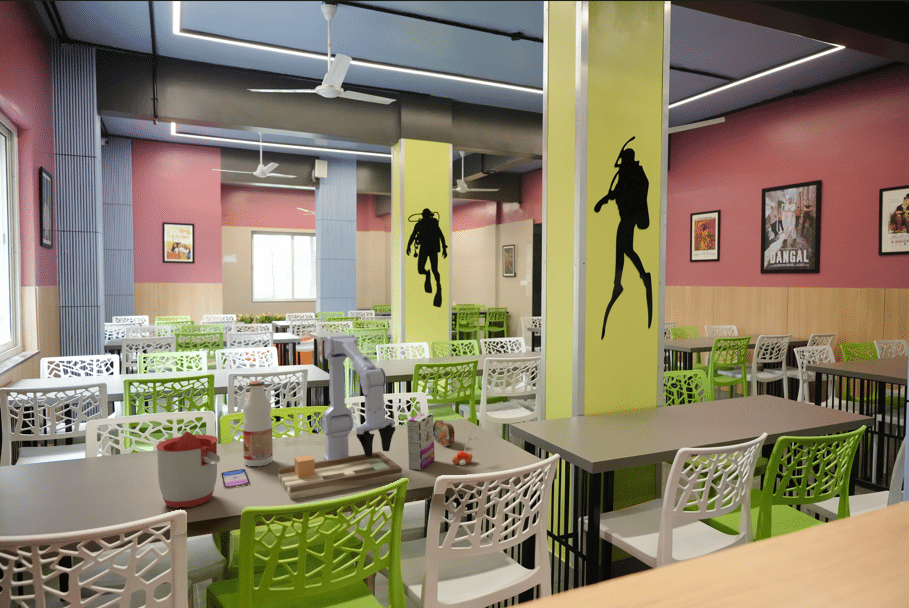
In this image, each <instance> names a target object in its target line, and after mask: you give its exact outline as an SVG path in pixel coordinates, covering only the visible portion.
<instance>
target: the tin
mask: <svg viewBox="0 0 909 608" xmlns="http://www.w3.org/2000/svg"><path fill="white" fill-rule="evenodd" d="M433 428H434V441H435V442H436V443H438V444H440V445H442V446H443V447H444V448H445V447H451V446H453V445H454V443H455V433H456V432H455V428H454V426H453V425H452V424H451V423H449V422H447V421H446V420H443V419H435V421H434V422H433Z"/></svg>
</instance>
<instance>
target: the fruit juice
mask: <svg viewBox="0 0 909 608" xmlns="http://www.w3.org/2000/svg"><path fill="white" fill-rule="evenodd" d="M248 386H249V394H248V396H247V400H246V401H245V402H244V404H243V405H242V406H243V408H242V412H243V415H244V418H243V419H244V420H243V422H242V437H243V441H242V442H243V445H242V446H243V464H244V465H245V466H246V465H248V466H247V467H250V466H258V467H263V465H264V466H267V465H269V463H270V464H271V463H273V460H274V459H273V458H274V457H273V455H274V454H273V453H274V452H273V449H274V448H273V447H274V446H273V421H272V417H271V411H272V403H271V401H270V400H269V398H267V395H266V393H265V390H264V387H265V381H264V380H254V381H250V382H249V383H248Z"/></svg>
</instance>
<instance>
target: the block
mask: <svg viewBox="0 0 909 608" xmlns="http://www.w3.org/2000/svg"><path fill="white" fill-rule="evenodd" d="M314 462H315V458H314V457H313V455H311V454H307V455H302V456H301V455H300V456H295V457H294V465H295V474H296V476H297V477H298V478H301V477H307V476H313V475H315V467H314Z"/></svg>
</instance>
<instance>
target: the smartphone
mask: <svg viewBox="0 0 909 608" xmlns="http://www.w3.org/2000/svg"><path fill="white" fill-rule="evenodd" d="M221 475H222V479H223V482H222V485H224V486H223V488H224V487H225V488H229V489H231V488H230V487H235V488H237V487H236V486H241V487H243V486H242V485H247V486H249V485H248V484H250V485H251V482H250V479H249V476H248V473H247V470H246V469H243V468H241V469H240V468H239V469H235V470H229V471H223V472H221V473H220V476H221ZM222 479H221V480H222ZM225 488H224V489H225Z"/></svg>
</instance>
